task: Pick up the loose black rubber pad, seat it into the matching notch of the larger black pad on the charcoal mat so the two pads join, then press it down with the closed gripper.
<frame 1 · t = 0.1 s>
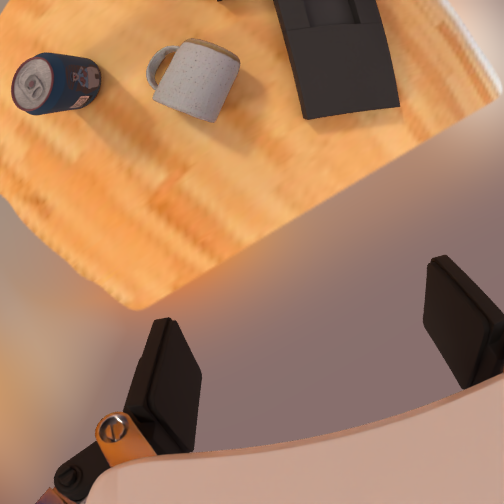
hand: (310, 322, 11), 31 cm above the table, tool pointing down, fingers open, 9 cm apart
soda can: (83, 83, 33), on the table
pad base: (330, 29, 31), on the table
ceramic mug: (191, 80, 34), on the table
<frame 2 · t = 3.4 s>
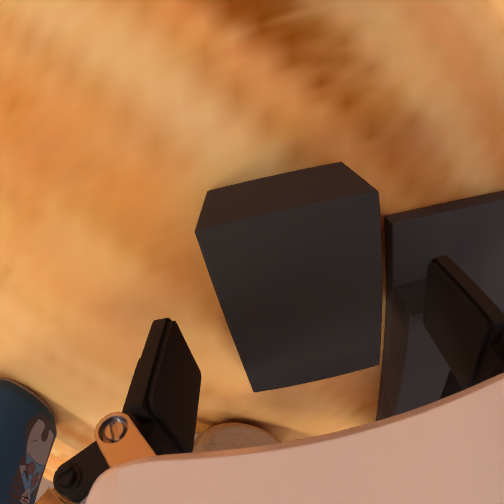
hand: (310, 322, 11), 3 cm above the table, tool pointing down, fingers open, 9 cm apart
soda can: (25, 399, 19), on the table
loose pad: (292, 258, 13), on the table
pad base: (461, 355, 17), on the table
ceramic mug: (205, 437, 20), on the table
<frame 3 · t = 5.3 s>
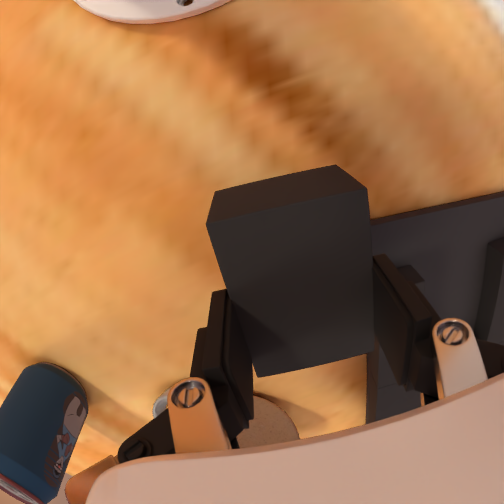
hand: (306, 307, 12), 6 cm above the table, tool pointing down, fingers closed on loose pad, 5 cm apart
soda can: (59, 383, 23), on the table
loose pad: (292, 253, 14), point 4 cm above the table, touching gripper
pad base: (437, 339, 21), on the table
ceramic mug: (221, 412, 24), on the table
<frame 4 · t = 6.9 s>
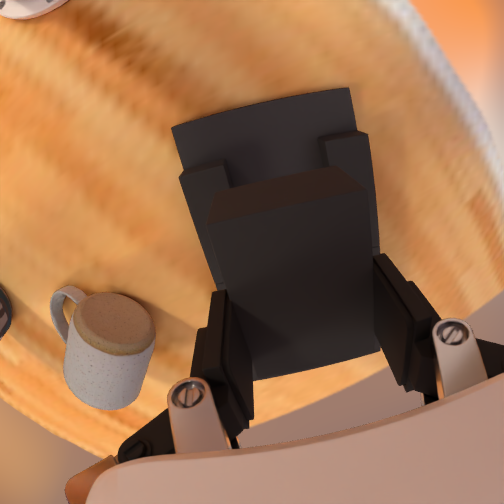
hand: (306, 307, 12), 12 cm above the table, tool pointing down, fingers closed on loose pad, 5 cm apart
loose pad: (292, 254, 14), point 10 cm above the table, touching gripper
pad base: (293, 247, 25), on the table
ceramic mug: (106, 318, 28), on the table
when the fingers open (3 cm above the table, at t = 8.7 s): loose pad stays where it is, resting on pad base.
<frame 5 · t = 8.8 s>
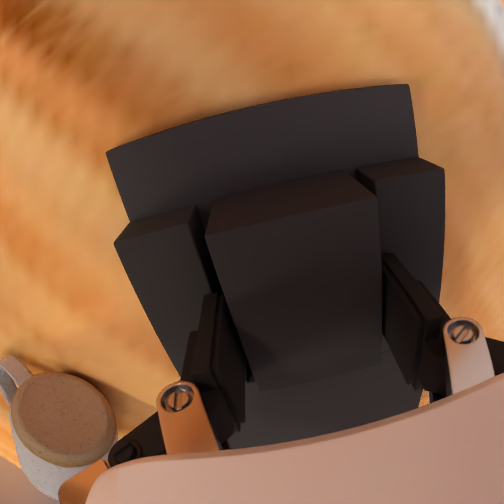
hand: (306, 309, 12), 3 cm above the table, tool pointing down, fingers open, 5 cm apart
loose pad: (295, 262, 13), point 1 cm above the table, touching pad base
pad base: (305, 330, 16), on the table
ceramic mug: (62, 392, 19), on the table
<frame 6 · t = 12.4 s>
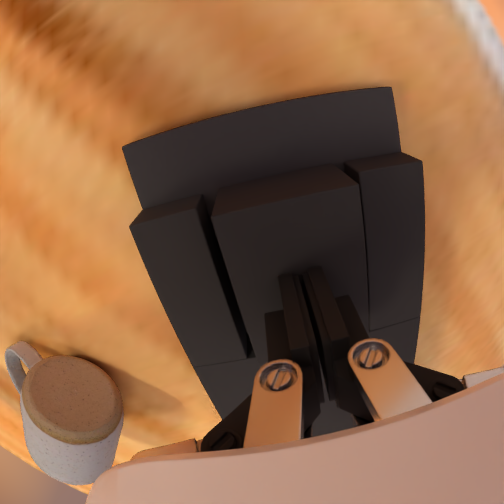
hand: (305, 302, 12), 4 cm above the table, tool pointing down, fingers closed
loose pad: (291, 246, 15), point 1 cm above the table, touching gripper, pad base
pad base: (301, 312, 18), on the table
ceramic mug: (70, 377, 21), on the table
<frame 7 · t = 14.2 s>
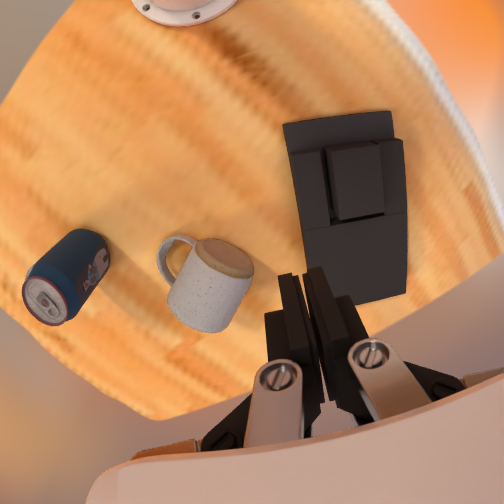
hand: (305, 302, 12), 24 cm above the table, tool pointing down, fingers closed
soda can: (90, 249, 37), on the table
loose pad: (349, 175, 33), point 1 cm above the table, touching pad base
pad base: (350, 212, 35), on the table
ceramic mug: (203, 264, 38), on the table
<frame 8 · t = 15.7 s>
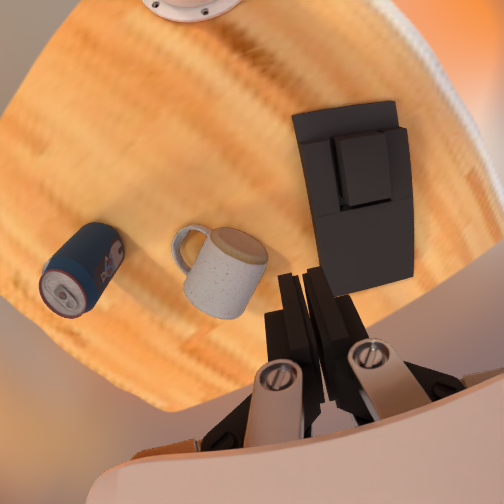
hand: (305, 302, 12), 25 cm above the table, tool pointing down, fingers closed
soda can: (103, 243, 38), on the table
loose pad: (356, 163, 34), point 1 cm above the table, touching pad base
pad base: (358, 198, 36), on the table
ceramic mug: (217, 253, 39), on the table
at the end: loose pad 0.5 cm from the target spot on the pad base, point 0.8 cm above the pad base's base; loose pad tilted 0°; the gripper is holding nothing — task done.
